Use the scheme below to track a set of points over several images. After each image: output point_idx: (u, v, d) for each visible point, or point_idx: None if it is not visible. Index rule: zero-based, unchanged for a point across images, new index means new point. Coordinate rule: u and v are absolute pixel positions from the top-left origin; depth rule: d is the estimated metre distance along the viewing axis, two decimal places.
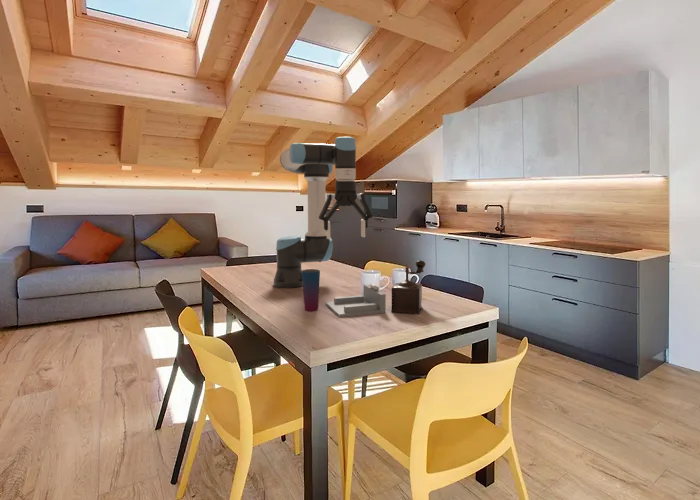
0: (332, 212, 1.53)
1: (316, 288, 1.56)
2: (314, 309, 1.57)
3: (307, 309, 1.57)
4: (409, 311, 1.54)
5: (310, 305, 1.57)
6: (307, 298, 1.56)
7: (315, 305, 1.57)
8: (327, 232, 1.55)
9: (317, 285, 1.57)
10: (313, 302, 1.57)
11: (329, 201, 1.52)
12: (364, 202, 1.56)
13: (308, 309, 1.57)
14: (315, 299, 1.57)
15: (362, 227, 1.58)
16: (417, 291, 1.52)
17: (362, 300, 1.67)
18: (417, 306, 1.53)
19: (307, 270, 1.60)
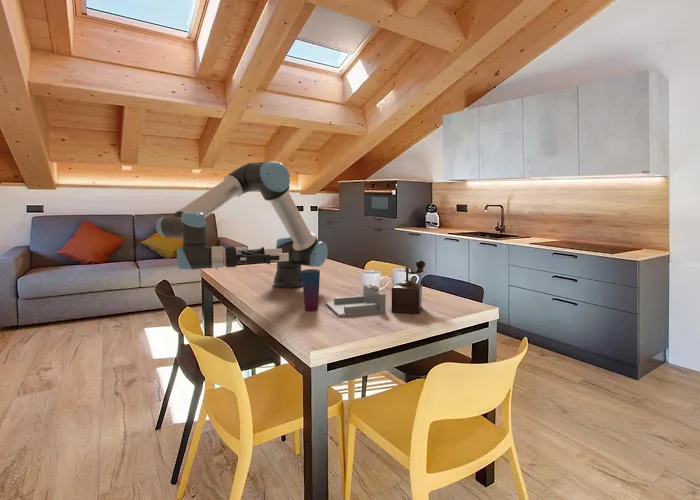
0: None
1: (316, 288, 1.56)
2: (314, 309, 1.57)
3: (307, 309, 1.57)
4: (409, 311, 1.54)
5: (310, 305, 1.57)
6: (307, 298, 1.56)
7: (315, 305, 1.57)
8: None
9: (317, 285, 1.57)
10: (313, 302, 1.57)
11: None
12: None
13: (308, 309, 1.57)
14: (315, 299, 1.57)
15: None
16: (417, 291, 1.52)
17: (362, 300, 1.67)
18: (417, 306, 1.53)
19: (307, 270, 1.60)
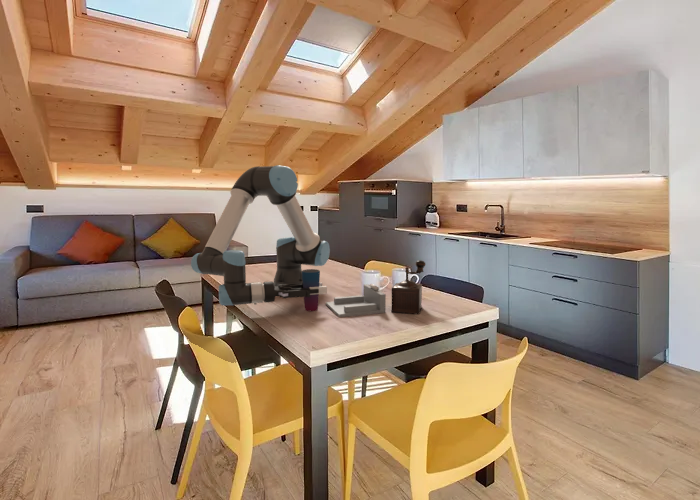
0: None
1: None
2: (314, 309, 1.57)
3: (307, 309, 1.57)
4: (409, 311, 1.54)
5: (310, 305, 1.57)
6: (307, 298, 1.56)
7: (315, 305, 1.57)
8: None
9: (317, 285, 1.57)
10: (313, 302, 1.57)
11: None
12: None
13: (308, 309, 1.57)
14: (315, 299, 1.57)
15: None
16: (417, 291, 1.52)
17: (362, 300, 1.67)
18: (417, 306, 1.53)
19: (307, 270, 1.60)
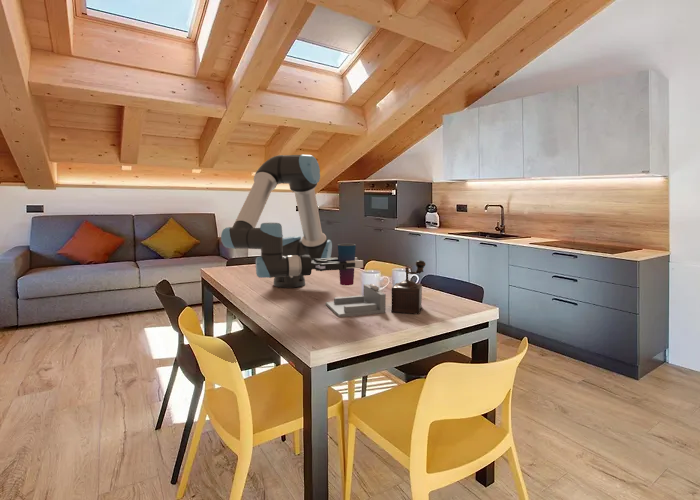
0: None
1: None
2: (350, 283, 1.56)
3: (343, 283, 1.56)
4: (409, 311, 1.54)
5: (346, 279, 1.55)
6: (343, 272, 1.55)
7: (351, 279, 1.56)
8: None
9: (353, 259, 1.55)
10: (349, 276, 1.55)
11: None
12: None
13: (344, 283, 1.56)
14: (351, 273, 1.56)
15: None
16: (417, 291, 1.52)
17: (362, 300, 1.67)
18: (417, 306, 1.53)
19: (342, 244, 1.59)
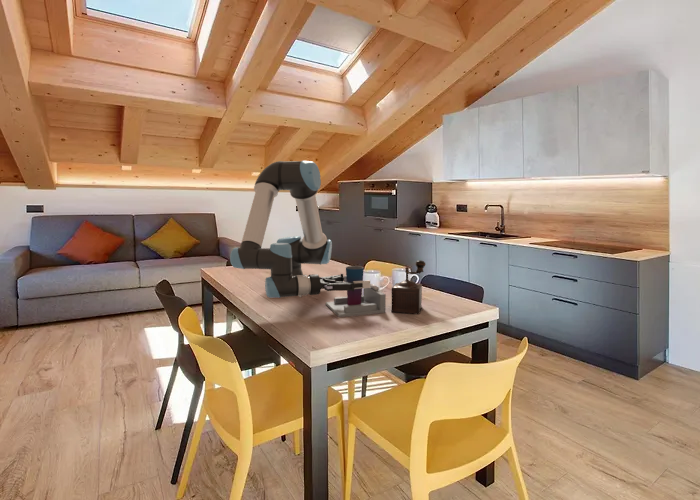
0: None
1: None
2: None
3: None
4: (409, 311, 1.54)
5: (353, 301, 1.58)
6: (351, 295, 1.57)
7: (359, 302, 1.58)
8: None
9: None
10: (357, 299, 1.58)
11: None
12: None
13: None
14: (359, 296, 1.58)
15: None
16: (417, 291, 1.52)
17: (362, 300, 1.67)
18: (417, 306, 1.53)
19: (350, 267, 1.61)
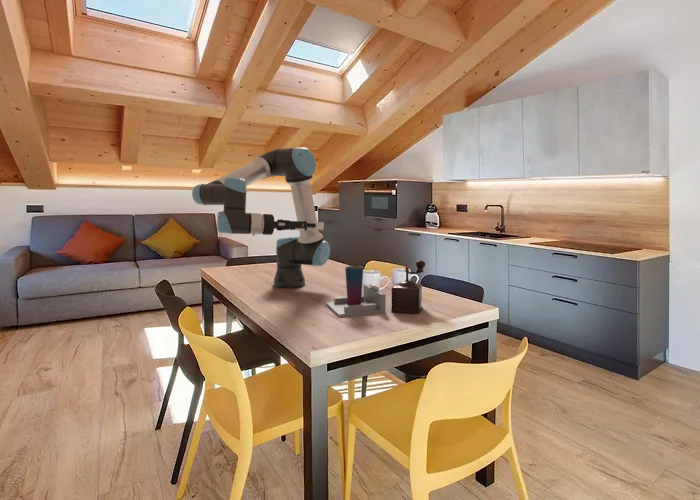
0: None
1: (360, 285, 1.57)
2: None
3: None
4: (409, 311, 1.54)
5: (353, 301, 1.58)
6: (351, 295, 1.57)
7: (358, 301, 1.58)
8: None
9: (361, 282, 1.58)
10: (357, 298, 1.58)
11: None
12: (288, 227, 1.49)
13: None
14: (359, 296, 1.58)
15: None
16: (417, 291, 1.52)
17: (362, 300, 1.67)
18: (417, 306, 1.53)
19: (350, 267, 1.61)
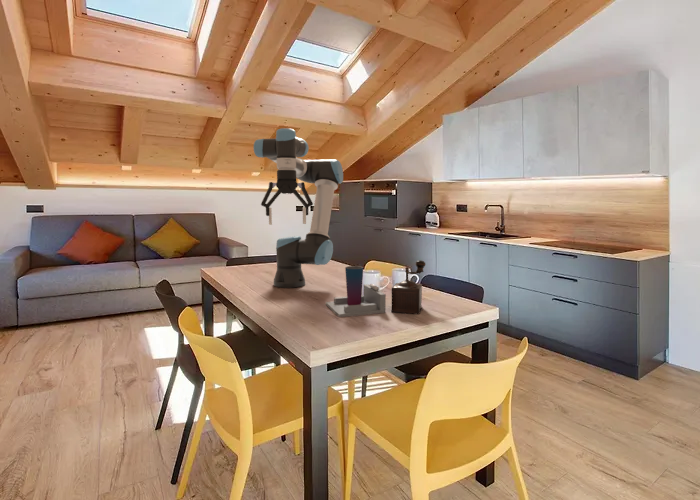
0: (273, 199, 1.62)
1: (360, 285, 1.57)
2: None
3: None
4: (409, 311, 1.54)
5: (353, 301, 1.58)
6: (351, 295, 1.57)
7: (358, 301, 1.58)
8: (269, 218, 1.64)
9: (361, 282, 1.58)
10: (357, 298, 1.58)
11: (270, 188, 1.61)
12: (304, 190, 1.66)
13: None
14: (359, 295, 1.58)
15: (303, 214, 1.68)
16: (417, 291, 1.52)
17: (362, 300, 1.67)
18: (417, 306, 1.53)
19: (350, 267, 1.61)
